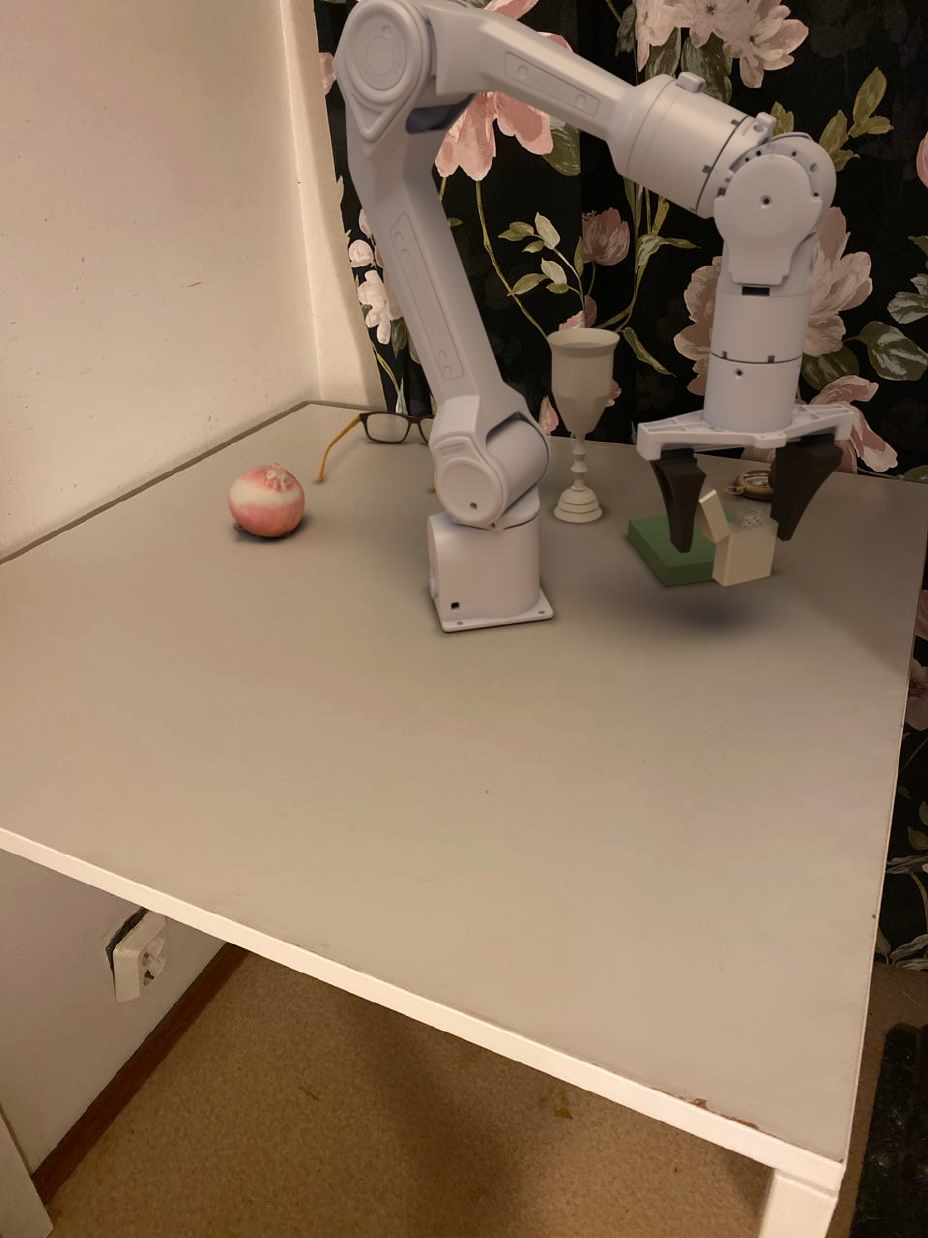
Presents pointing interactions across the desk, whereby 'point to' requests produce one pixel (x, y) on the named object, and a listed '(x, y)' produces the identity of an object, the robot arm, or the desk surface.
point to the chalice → (581, 404)
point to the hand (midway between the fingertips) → (729, 540)
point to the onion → (267, 501)
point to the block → (673, 551)
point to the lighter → (737, 539)
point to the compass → (756, 483)
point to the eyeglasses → (363, 418)
